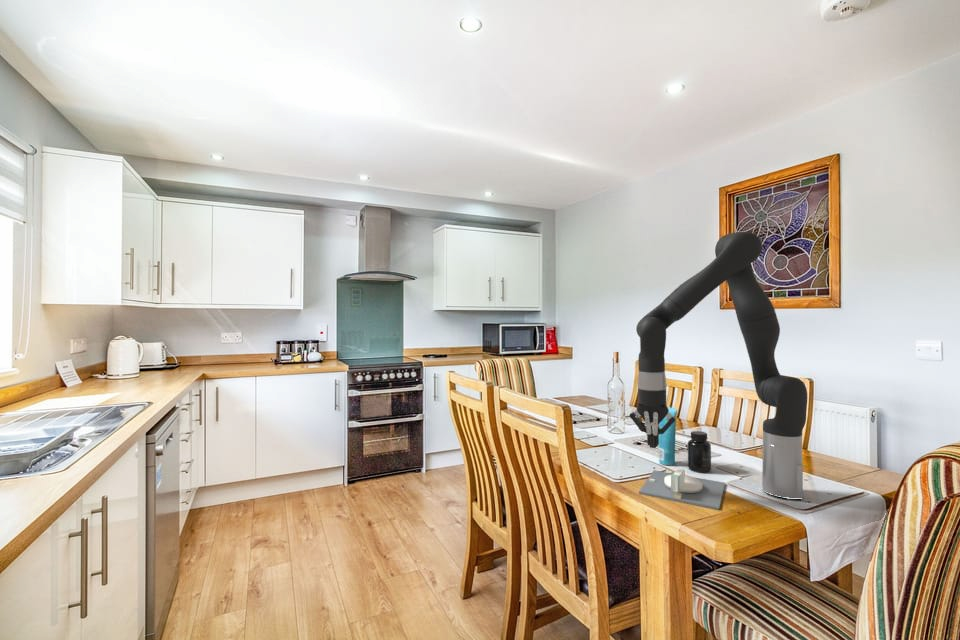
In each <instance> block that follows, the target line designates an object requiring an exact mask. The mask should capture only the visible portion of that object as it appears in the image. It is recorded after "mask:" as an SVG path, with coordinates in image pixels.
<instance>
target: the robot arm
mask: <svg viewBox="0 0 960 640" xmlns="http://www.w3.org/2000/svg"><path fill="white" fill-rule="evenodd" d="M762 250H763V244H762V241H761V238H760V237H759V236H758V235H757V234H756V233H753V232H751V231H737V232H731V233H727V234H725V235H723V236H721V237H720V238H719V239H718V240H717V242H716V244H715V249H714V254H715V258H714V259H713V260H712V261H711V262H710V263H709V264H707V265H706V266H705V267H704V268H703V269H702V270H700V271H698V272H697V273H696V274H695V275H692V276H691V277H689V278H688V279H687V280H686V281H684V282H683V283H682V284H680V285H679V286H678V287H676V288H675V289H674V290H673V291H672V292H671V293H670V294H669V295H668V296H667V297H665V298H664V299H663V301H662V302H661V303H660V304H659V305H657V306H655V307H654V308H653V309H652V310H650V311H649V312H648V313H647V314H645V315H644V316H643V317H642V318H641V319H640V320H639V321H638V322H637V325H636V329H635V330H636V333H637V336H638V337H639V349H640V351H639V354H638V375H637V395H638V396H637V399H638V400H637V401H638V402H637V403H638V404H637V407H636V410H635V411H632V412H631V413H630V414H629V417H630V419H631V420H632V421H633V423H634V424H635V425H636V426H637V428H638V429H639V431H640V432H642V433H643V432H644V433H645V434H646V438H647V439H646V441H647V446H649V448H651V449H656V448H657V447H659V434H664V432H665V431H666V430H667V429H668V428H669V427H670V426H671V425H672V424H673V423H674V421H675V420H676V421H677V418H678V417H677V416H673V415H671V414H670V413H669V410H668V408H667V407H668V404H667V402H668V401H667V385H668V384H667V377H666V368H665V367H666V365H665V364H666V363H665V361H666V359H665V351H666V345H667V344H666V342H667V329H668V328H669V327H670V326H671V325H673V324H674V323H675V322H678V321H680V320H681V319H683V318H684V317H685V316H686V315H688V313H690V312H691V311H692V310H694V308H695V307H696V306H697V305H699V303H701V301H703V300H704V299H705V298H706V297H707V296H708V295H709V294H711V293H712V292H713V291H715V290H716V289H717V288H718V287H719V286H721V285H722V284H723V283H725V282H726V283H727V286H728V290H729V293H730V297H731V301H732V304H733V307H734V310H735V314H736V318H737V323H738V325H739V328H740V331H741V334H742V337H743V339H744V343H745V347H746V351H747V354H748V358H749V361H750V366H751V371H752V372H751V373H752V377H753V383H754V388H755V392H756V395H757V398H758V399H759V400H760V401H761V402H762V403H763V404H765V405H767V406H769V407H774V408H776V409H775V415H774V417H773V418H768V419H765V420H763V422H762V471H761V472H762V474H761V475H762V477H761V479H762V480H761V481H762V483H761V485H762V486H761V487H762V488H763V490H765V491H766V492H768V493H771V494H773V495H777V496H781V497H789V498H803V493H804V492H803V489H804V488H803V484H804V483H803V481H804V480H803V477H804V476H803V474H804V470H803V469H804V465H803V430H804V427H805V425H806V421H807V410H808V390H807V387H806V384H805V382H803V380H801V379H800V378H797V377H793V376H790V375H789V376H788V375H783V374H781V373H780V372H779V369H778V366H777V364H776V360H775V359H776V358H775V351H776V347H777V345H778V342H779V338H780V333H781V329H780V328H781V327H780V323H779V319H778V316H777V313H776V309H775V307H774V305H773V303H772V302H771V299H770V298H769V297H768V295H767V293H766V292H765V291H764V289H763V288H762V287H761V285H760V284H759V282H758V281H757V278H756V276H755V273H754V269H753V267H752V264H753V263H754V262H755V261H757V259H758V258H759V257H760V255H761V253H762ZM665 416H667V418H666V421H667V423H666V424H665V425H664V426H663V428H661V429H659V426H660V422H661V421H662V420H663V419H664V418H665ZM640 417H641V418H642V420H643V421H644V422H645V423H644V422H643V421H642V420H641V418H640ZM763 490H762V491H763Z"/></svg>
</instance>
